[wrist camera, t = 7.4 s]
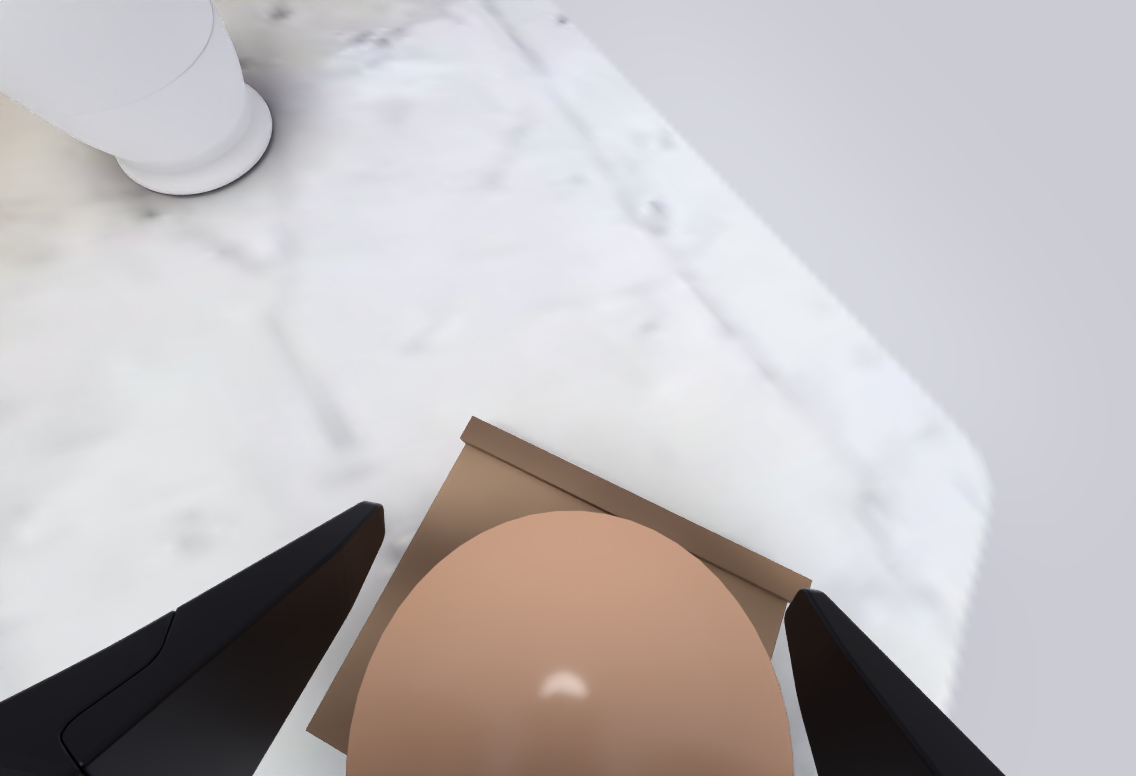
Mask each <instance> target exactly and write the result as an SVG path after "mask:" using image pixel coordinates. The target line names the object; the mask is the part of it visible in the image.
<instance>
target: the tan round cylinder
mask: <svg viewBox="0 0 1136 776" xmlns="http://www.w3.org/2000/svg"><path fill="white" fill-rule="evenodd" d="M346 776H794V770H793V750H792V743H791V736H790V729H789V722H788V717H787V713H786V709H785V705H784V701H783V697H782V693H781V689H780V685H779V683H778V680H777V677H776V675H775V672H774V669H773V666H772V664H771V661H770V658H769V656H768V654H767V652H766V650H765V648H764V646H763V644H762V642H761V640H760V638H759V636H758V634H757V632H756V630H755V628H754V626H753V624H752V623H751V621H750V620H749V618H748V617H747V615H746V614H745V612H744V610H743V609H742V607H741V606H740V604H739V603H738V601H737V600H736V599H735V598H734V596H733V595H732V594H731V593H730V592H729V590H728V589H727V588H726V587H725V586H724V584H723V583H722V582H721V581H720V579H719V578H718V577H716V576H715V575H714V574H713V573H712V572H711V571H710V570H709V569H708V568H707V567H706V566H705V565H704V564H703V563H702V562H701V561H700V560H699V559H697V558H696V557H695V556H693V555H692V554H691V553H689V552H688V551H687V550H685V549H684V548H683V547H681V546H680V545H679V544H677V543H676V542H674V541H672V540H671V539H669V538H667V537H665V536H664V535H662V534H660V533H658V532H657V531H655V530H653V529H650V528H648V527H645V526H643V525H640V524H638V523H636V522H633V521H631V520H627V519H623V518H619V517H616V516H612V515H608V514H603V513H595V512H586V511H553V512H546V513H540V514H533V515H528V516H525V517H522V518H518V519H515V520H511V521H508V522H505V523H503V524H500V525H498V526H496V527H494V528H491V529H489V530H487V531H485V532H482V533H481V534H479V535H477V536H476V537H474V538H472V539H471V540H469V541H467V542H466V543H464V544H462V545H461V546H459V547H458V548H457V549H455V550H454V551H453V552H451V553H450V554H449V555H448V556H446V557H445V558H444V559H443V560H441V561H440V562H439V563H438V564H437V565H436V566H435V567H434V568H433V569H432V570H431V571H430V572H429V573H428V574H427V575H426V576H425V577H424V578H423V579H422V580H421V581H420V582H419V583H418V584H417V585H416V586H415V587H414V589H413V590H412V591H411V592H410V594H409V595H408V596H407V598H406V599H405V600H404V601H403V603H402V604H401V605H400V607H399V608H398V609H397V611H396V613H395V614H394V616H393V618H392V619H391V621H390V623H389V624H388V626H387V627H386V629H385V631H384V632H383V634H382V636H381V638H380V640H379V642H378V645H377V647H376V649H375V651H374V653H373V655H372V657H371V659H370V662H369V664H368V667H367V670H366V673H365V675H364V678H363V681H362V684H361V687H360V690H359V693H358V696H357V701H356V705H355V710H354V714H353V718H352V723H351V727H350V735H349V743H348V752H347V760H346Z"/></svg>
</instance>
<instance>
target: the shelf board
mask: <svg viewBox="0 0 1136 776" xmlns="http://www.w3.org/2000/svg"><path fill="white" fill-rule="evenodd" d="M460 439H461V440H462V441H463V442H464V443H466V444H465V446H464V448H463V450H462V452H461V453H460V455H459V457H458V459H457V461H456V462H455V464H454V466H453V468H452V469H451V471H450V473H449V475H448V477H447V478H446V480H445V482H444V484H443V486H442V487H441V489H440V491H439V493H438V495H437V496H436V498H435V500H434V502H433V503H432V505H431V507H430V509H429V511H428V512H427V514H426V516H425V518H424V520H423V521H422V523H421V525H420V527H419V528H418V530H417V532H416V534H415V536H414V537H413V539H412V541H411V543H410V545H409V546H408V548H407V550H406V552H405V554H404V555H403V557H402V559H401V561H400V562H399V564H398V566H397V568H396V570H395V571H394V573H393V575H392V577H391V579H390V580H389V582H388V584H387V586H386V587H385V589H384V591H383V593H382V595H381V596H380V598H379V600H378V602H377V604H376V605H375V607H374V609H373V611H372V613H371V614H370V616H369V618H368V620H367V621H366V623H365V625H364V627H363V629H362V630H361V632H360V634H359V636H358V638H357V639H356V641H355V643H354V645H353V646H352V648H351V650H350V652H349V654H348V655H347V657H346V659H345V661H344V663H343V664H342V666H341V668H340V670H339V671H338V673H337V675H336V677H335V679H334V680H333V682H332V684H331V686H330V688H329V689H328V691H327V693H326V695H325V697H324V698H323V700H322V702H321V704H320V705H319V707H318V709H317V711H316V713H315V714H314V716H313V718H312V720H311V722H310V723H309V725H308V727H307V729H306V731H308V732H309V733H311V734H313V735H314V736H316V737H318V738H319V739H321V740H323V741H324V742H326V743H328V744H329V745H331V746H333V747H334V748H336V749H338V750H339V751H341V752H343V753H344V754H346V755H347V752H348V743H349V735H350V727H351V723H352V718H353V714H354V710H355V705H356V701H357V696H358V693H359V690H360V687H361V684H362V681H363V678H364V675H365V673H366V670H367V667H368V664H369V662H370V659H371V657H372V655H373V653H374V651H375V649H376V647H377V645H378V642H379V640H380V638H381V636H382V634H383V632H384V631H385V629H386V627H387V626H388V624H389V623H390V621H391V619H392V618H393V616H394V614H395V613H396V611H397V609H398V608H399V607H400V605H401V604H402V603H403V601H404V600H405V599H406V598H407V596H408V595H409V594H410V592H411V591H412V590H413V589H414V587H415V586H416V585H417V584H418V583H419V582H420V581H421V580H422V579H423V578H424V577H425V576H426V575H427V574H428V573H429V572H430V571H431V570H432V569H433V568H434V567H435V566H436V565H437V564H438V563H439V562H440V561H441V560H443V559H444V558H445V557H446V556H448V555H449V554H450V553H451V552H453V551H454V550H455V549H457V548H458V547H459V546H461V545H462V544H464V543H466V542H467V541H469V540H471V539H472V538H474V537H476V536H477V535H479V534H481V533H482V532H485V531H487V530H489V529H491V528H494V527H496V526H498V525H500V524H503V523H505V522H508V521H511V520H515V519H518V518H522V517H525V516H528V515H533V514H540V513H546V512H553V511H586V512H595V513H603V514H608V515H612V516H616V517H619V518H623V519H627V520H631V521H633V522H636V523H638V524H640V525H643V526H645V527H648V528H650V529H653V530H655V531H657V532H658V533H660V534H662V535H664V536H665V537H667V538H669V539H671V540H672V541H674V542H676V543H677V544H679V545H680V546H681V547H683V548H684V549H685V550H687V551H688V552H689V553H691V554H692V555H693V556H695V557H696V558H697V559H699V560H700V561H701V562H702V563H703V564H704V565H705V566H706V567H707V568H708V569H709V570H710V571H711V572H712V573H713V574H714V575H715V576H716V577H718V578H719V579H720V581H721V582H722V583H723V584H724V586H725V587H726V588H727V589H728V590H729V592H730V593H731V594H732V595H733V596H734V598H735V599H736V600H737V601H738V603H739V604H740V606H741V607H742V609H743V610H744V612H745V614H746V615H747V617H748V618H749V620H750V621H751V623H752V624H753V626H754V628H755V630H756V632H757V634H758V636H759V638H760V640H761V642H762V644H763V646H764V648H765V650H766V652H767V654H768V656H769V658H770V661H771V658H772V654H773V651H774V647H775V644H776V640H777V637H778V633H779V629H780V626H781V622H782V619H783V615H784V612H785V608H786V605H787V602H788V603H791V602H792V600H793V598H794V597H795V595H796V593H797V592H798V590H799V589H801V588H809V589H810V586H811V583H812V580H810V579H808V578H806V577H804V576H802V575H800V574H798V573H796V572H794V571H792V570H790V569H788V568H786V567H784V566H782V565H780V564H777V563H775V562H773V561H771V560H769V559H767V558H765V557H763V556H761V555H759V554H757V553H755V552H753V551H751V550H749V549H746V548H744V547H742V546H740V545H738V544H736V543H734V542H732V541H730V540H728V539H726V538H724V537H722V536H720V535H718V534H716V533H713V532H711V531H709V530H707V529H705V528H703V527H701V526H699V525H697V524H695V523H693V522H691V521H689V520H687V519H685V518H682V517H680V516H678V515H676V514H674V513H672V512H670V511H668V510H666V509H664V508H662V507H660V506H658V505H656V504H654V503H652V502H649V501H647V500H645V499H643V498H641V497H639V496H637V495H635V494H633V493H631V492H629V491H627V490H625V489H623V488H621V487H619V486H616V485H614V484H612V483H610V482H608V481H606V480H604V479H602V478H600V477H598V476H596V475H594V474H592V473H590V472H588V471H585V470H583V469H581V468H579V467H577V466H575V465H573V464H571V463H569V462H567V461H565V460H563V459H561V458H559V457H557V456H555V455H552V454H550V453H548V452H546V451H544V450H542V449H540V448H538V447H536V446H534V445H532V444H530V443H528V442H526V441H524V440H522V439H519V438H517V437H515V436H513V435H511V434H509V433H507V432H505V431H503V430H501V429H499V428H497V427H495V426H493V425H491V424H488V423H486V422H484V421H482V420H480V419H478V418H476V417H474V416H472V418H471V419H470V421H469V423H468V425H467V426H466V428H465V430H464V432H463V434H462V435H461V437H460Z"/></svg>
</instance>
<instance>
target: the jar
mask: <svg viewBox="0 0 1136 776" xmlns="http://www.w3.org/2000/svg"><path fill="white" fill-rule="evenodd" d="M0 92H1V93H2V94H4V95H6V96H7V97H9V98H11V99H13V100H14V101H15V102H17V103H18V104H19V105H21V106H22V107H24V108H25V109H27V110H28V111H30V112H31V113H33V114H34V115H36V116H37V117H39V118H41V119H42V120H44V121H45V122H47V123H49V124H50V125H52V126H54V127H55V128H57V129H59V130H60V131H62V132H64V133H66V134H68V135H69V136H71V137H73V138H75V139H77V140H79V141H81V142H83V143H85V144H87V145H89V146H92V147H94V148H96V149H99V150H101V151H103V152H106V153H109V154H111V155H114V156H115V158H116V160H117V162H118V164H119V165H120V167H121V168H122V169H123V171H124V172H125V173H126V174H127V175H128V176H129V177H130V178H131V179H132V180H134V181H135V182H136V183H138V184H140V185H141V186H143V187H145V188H148V189H150V190H153V191H156V192H160V193H165V194H173V195H188V194H197V193H202V192H207V191H210V190H213V189H216V188H219V187H222V186H224V185H226V184H228V183H230V182H232V181H234V180H236V179H237V178H239V177H240V176H242V175H243V174H245V173H246V172H247V171H248V170H249V169H251V168H252V167H253V166H254V165H255V164H256V163H257V161H258V160H259V159H260V158H261V156H262V155H263V153H264V152H265V150H266V148H267V146H268V144H269V141H270V138H271V133H272V118H271V114H270V111H269V108H268V106H267V104H266V102H265V101H264V100H263V98H262V97H261V96H260V95H259V94H258V93H257V92H256V91H255V90H254V89H253V88H252V87H250V86H249V85H248V84H246V83H245V82H244V79H243V75H242V70H241V67H240V63H239V60H238V57H237V54H236V51H235V48H234V46H233V43H232V41H231V38H230V36H229V34H228V32H227V30H226V27H225V25H224V23H223V21H222V19H221V17H220V15H219V14H218V12H217V10H216V8H215V6H214V4H213V3H212V1H211V0H0Z"/></svg>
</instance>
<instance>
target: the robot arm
mask: <svg viewBox="0 0 1136 776" xmlns="http://www.w3.org/2000/svg"><path fill="white" fill-rule="evenodd" d="M384 536H385V523H384V509H383V506H382V505H381V504H378V503H373V502H368V501H363V502H360V503H358V504H357V505H355V506H353V507H351V508H350V509H348V510H346V511H344V512H343V513H341V514H339V515H337V516H336V517H334V518H332V519H331V520H329V521H327V522H325V523H324V524H322V525H320V526H318V527H317V528H315V529H313V530H311V531H310V532H308V533H306V534H305V535H303V536H301V537H299V538H298V539H296V540H294V541H292V542H291V543H289V544H287V545H285V546H284V547H282V548H280V549H279V550H277V551H275V552H273V553H272V554H270V555H268V556H266V557H265V558H263V559H261V560H259V561H258V562H256V563H254V564H252V565H251V566H249V567H247V568H246V569H244V570H242V571H240V572H239V573H237V574H235V575H233V576H232V577H230V578H228V579H226V580H225V581H223V582H221V583H220V584H218V585H216V586H214V587H213V588H211V589H209V590H207V591H206V592H204V593H202V594H200V595H199V596H197V597H195V598H194V599H192V600H190V601H188V602H187V603H185V604H183V605H181V606H180V607H178V608H177V610H176V612H175V611H171V612H169V613H167V614H165V615H164V616H162V617H160V618H159V619H157V620H155V621H153V622H152V623H150V624H148V625H146V626H145V627H143V628H141V629H139V630H137V631H136V632H134V633H132V634H130V635H128V636H127V637H125V638H123V639H121V640H119V641H118V642H116V643H114V644H112V645H110V646H109V647H107V648H105V649H103V650H101V651H99V652H97V653H95V654H93V655H92V656H90V657H88V658H86V659H84V660H82V661H80V662H78V663H76V664H74V665H72V666H70V667H68V668H67V669H65V670H63V671H61V672H59V673H57V674H55V675H53V676H51V677H49V678H47V679H45V680H43V681H41V682H39V683H37V684H35V685H33V686H31V687H29V688H27V689H25V690H23V691H21V692H19V693H17V694H15V695H13V696H11V697H9V698H7V699H5V700H3V701H1V702H0V776H252V775H253V774H254V772H255V770H256V769H257V767H258V765H259V764H260V762H261V760H262V759H263V757H264V755H265V754H266V752H267V750H268V749H269V747H270V745H271V744H272V742H273V740H274V739H275V737H276V735H277V733H278V732H279V730H280V728H281V727H282V725H283V723H284V722H285V720H286V718H287V717H288V715H289V713H290V712H291V710H292V708H293V707H294V705H295V703H296V702H297V700H298V698H299V697H300V695H301V693H302V692H303V690H304V688H305V687H306V685H307V683H308V681H309V680H310V678H311V676H312V675H313V673H314V671H315V670H316V668H317V666H318V665H319V663H320V661H321V660H322V658H323V656H324V655H325V653H326V651H327V650H328V648H329V646H330V645H331V643H332V641H333V640H334V638H335V636H336V635H337V633H338V631H339V630H340V628H341V626H342V624H343V623H344V621H345V619H346V618H347V616H348V614H349V612H350V610H351V608H352V606H353V604H354V602H355V600H356V598H357V596H358V594H359V592H360V590H361V587H362V585H363V583H364V581H365V579H366V577H367V575H368V572H369V570H370V568H371V566H372V564H373V562H374V560H375V557H376V555H377V553H378V551H379V549H380V547H381V545H382V542H383V539H384ZM784 623H785V629H786V635H787V641H788V647H789V653H790V658H791V664H792V670H793V676H794V681H795V687H796V692H797V697H798V702H799V706H800V710H801V714H802V718H803V722H804V725H805V729H806V733H807V736H808V740H809V744H810V747H811V751H812V755H813V758H814V762H815V766H816V769H817V773H818V776H1005V775H1004V774H1003V773H1002V772H1001V771H1000V770H999V769H998V768H997V767H996V766H995V765H994V764H993V763H992V762H991V761H990V760H989V759H988V758H987V757H986V756H985V755H984V754H983V753H982V752H981V751H980V750H979V749H978V748H977V746H976V745H974V744H973V742H972V741H970V739H968V737H966V735H964V733H963V732H962V731H960V729H958V727H957V726H956V725H955V724H954V723H953V722H952V721H951V720H950V719H949V718H948V717H947V716H946V715H945V714H944V713H943V712H942V711H941V710H940V709H939V708H938V707H937V706H936V705H935V704H934V703H933V702H932V701H931V700H930V699H929V698H928V697H927V696H926V695H925V694H924V693H923V692H922V691H921V690H920V689H919V688H918V687H917V686H916V685H915V684H914V683H913V682H912V681H911V680H910V679H909V678H908V677H907V676H906V675H905V674H904V673H903V672H902V671H901V670H900V669H899V668H898V667H897V666H896V665H895V664H894V663H893V662H892V661H891V660H890V659H889V658H888V657H887V656H886V655H885V654H884V653H883V652H882V651H881V650H880V649H879V648H878V647H877V646H876V645H875V644H874V643H873V642H872V641H871V640H870V639H869V638H868V637H867V636H866V635H865V634H864V633H863V632H862V631H861V630H860V628H859V627H858V626H857V625H856V624H855V623H854V622H853V621H852V620H851V619H850V618H849V617H848V616H847V615H846V614H845V613H844V612H843V611H842V610H841V609H840V608H839V607H838V606H837V605H836V604H835V603H834V602H833V601H832V600H831V599H830V598H829V597H828V596H827V595H826V594H825V593H823V592H821V591H819V590H814V589H809V588H801V589H799V590H798V592H797V593H796V595H795V597H794V598H793V600H792V602H791V603H790V605H789V607H788V608H787V610H786V612H785V617H784Z"/></svg>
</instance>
